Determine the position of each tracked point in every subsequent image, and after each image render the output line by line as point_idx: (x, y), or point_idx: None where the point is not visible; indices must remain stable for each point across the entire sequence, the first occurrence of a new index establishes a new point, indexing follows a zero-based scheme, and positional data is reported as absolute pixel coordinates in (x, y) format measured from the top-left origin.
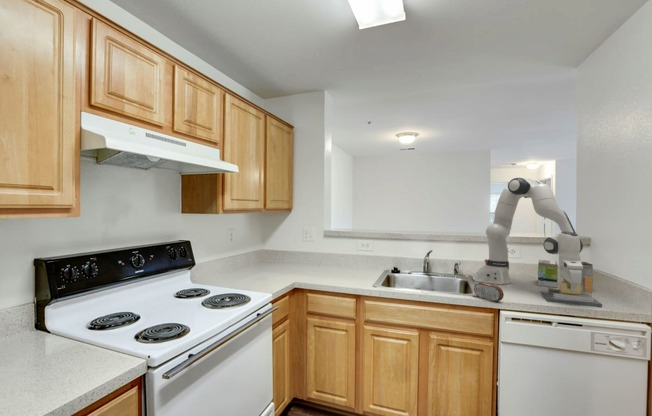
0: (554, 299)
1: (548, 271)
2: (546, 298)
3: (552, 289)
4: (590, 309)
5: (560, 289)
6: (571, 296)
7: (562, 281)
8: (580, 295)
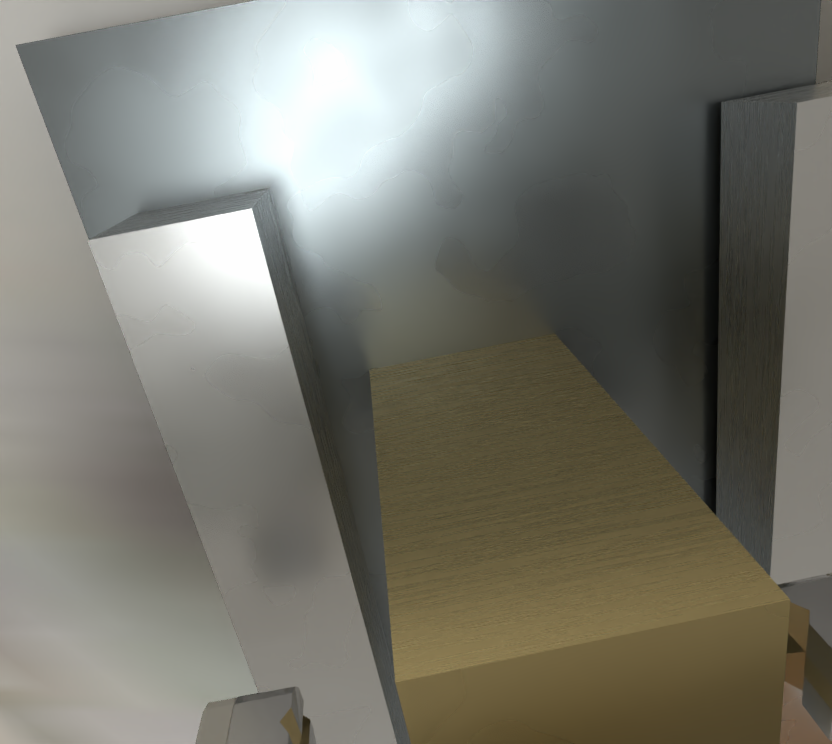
0: (82, 217)
1: None
2: (163, 22)
3: (786, 224)
4: (45, 697)
5: (482, 451)
6: (227, 592)
7: (752, 707)
8: (393, 732)
